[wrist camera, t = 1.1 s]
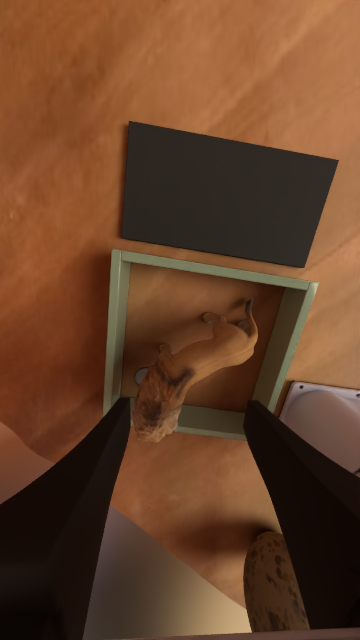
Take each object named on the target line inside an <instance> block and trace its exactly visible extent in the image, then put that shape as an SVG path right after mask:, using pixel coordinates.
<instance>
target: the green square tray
mask: <svg viewBox="0 0 360 640" xmlns="http://www.w3.org/2000/svg"><path fill="white" fill-rule="evenodd" d="M131 262H134V263H140V264H146V265H153V266H159V267H165V268H171V269H177V270H184V271H190V272H196V273H202V274H209V275H215V276H221V277H227V278H233V279H240V280H246V281H252V282H258V283H264V284H271V285H277V286H283V287H286V288H285V291H284V294H283V298H282V301H281V304H280V307H279V311H278V314H277V317H276V320H275V324H274V327H273V330H272V334H271V337H270V340H269V343H268V347H267V350H266V353H265V357H264V360H263V363H262V366H261V370H260V373H259V376H258V380H257V383H256V386H255V389H254V393H253V396H252V399H251V400H258V401H259V402H260V403H262V404H263V405H264V406H265V407H266V408H267V409H268V410H270V411H271V412H272V413H274V410H275V407H276V404H277V401H278V398H279V396H280V393H281V390H282V387H283V384H284V381H285V378H286V376H287V373H288V370H289V367H290V364H291V361H292V358H293V356H294V353H295V350H296V347H297V344H298V341H299V338H300V336H301V333H302V330H303V327H304V324H305V321H306V318H307V316H308V313H309V310H310V307H311V304H312V301H313V298H314V296H315V293H316V290H317V287H318V284H319V282H313V281H307V280H301V279H295V278H289V277H282V276H276V275H270V274H264V273H258V272H252V271H246V270H239V269H233V268H227V267H221V266H215V265H209V264H203V263H196V262H190V261H184V260H178V259H172V258H166V257H160V256H154V255H147V254H141V253H135V252H129V251H122V250H117V249H112V254H111V272H110V291H109V309H108V328H107V346H106V365H105V383H104V402H103V417H104V416H105V415H106V413H107V412H108V411H109V410H110V409H111V407H112V406H113V405H114V403H115V402H116V401H117V400H118V398H120V397H123V396H120V390H121V377H122V365H123V353H124V341H125V328H126V316H127V304H128V292H129V279H130V267H131ZM147 369H148V368H142V369H140V370H138V371H137V373H136V375H135V381H136V383H137V385H138V386H140V384H141V381H142V379H143V377H144V375H145V374H146V372H147ZM134 400H135V398H131V397H130V410H131V412H132V410H133V402H134ZM244 418H245V413H242V412H235V411H227V410H220V409H212V408H205V407H198V406H190V405H183V404H182V405H181V412H180V413H179V415H178V419H177V422H178V426H177V427H176V428H175V429H174V430H173V432H181V433H189V434H196V435H204V436H212V437H220V438H227V439H235V440H243V441H247V439H246V436H245V432H244V429H243V423H244ZM131 426H133V418H132V417H131Z"/></svg>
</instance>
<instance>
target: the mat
mask: <svg viewBox="0 0 360 640" xmlns="http://www.w3.org/2000/svg"><path fill="white" fill-rule="evenodd" d="M338 161H339V160H335V159H329V158H324V157H319V156H313V155H308V154H303V153H297V152H292V151H287V150H281V149H276V148H271V147H265V146H260V145H255V144H250V143H244V142H239V141H234V140H228V139H223V138H218V137H212V136H207V135H202V134H196V133H191V132H186V131H180V130H175V129H170V128H164V127H159V126H154V125H148V124H143V123H138V122H132V121H129V129H128V144H127V159H126V174H125V189H124V205H123V220H122V235H121V237H122V238H124V239H130V240H136V241H142V242H148V243H154V244H160V245H166V246H172V247H178V248H185V249H191V250H197V251H203V252H209V253H215V254H221V255H227V256H233V257H239V258H245V259H251V260H257V261H263V262H269V263H275V264H281V265H287V266H293V267H299V268H304V267H305V264H306V261H307V257H308V254H309V251H310V248H311V245H312V242H313V239H314V236H315V233H316V230H317V226H318V223H319V220H320V217H321V214H322V211H323V208H324V205H325V202H326V199H327V195H328V192H329V189H330V186H331V183H332V180H333V177H334V174H335V171H336V167H337V164H338Z"/></svg>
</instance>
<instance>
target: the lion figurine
mask: <svg viewBox="0 0 360 640" xmlns="http://www.w3.org/2000/svg"><path fill="white" fill-rule="evenodd" d="M252 304H253V298H251V299H250V300H248V301H247V303H246V309H245V312H246V316H247V320H248V321H241V322H240V323H238V327H237V326H234V325H232V324H230V323H227V322H226V318H225V317H224V316H219V315H216V314H214V313H205V314H204V315H203V320H204V321H205V323H212V322H214V321H215V325H214V327H213V331H214V337H213V338H212V339H209V340H204V341H199V342H195V343H193V344H191V345H188V346H186V347H185V348H183V349H182V350H181V351H179V352H178V353H177V354H175V355H173V354H171V350H172V348H171V347H170V346H169V345H167V344H161V345H160V347H159V351H160V353H161V354H160V355H159V359H158V362H156V363H155V364H154V365H153V366H151V367H150V368H148V369H147V372H146V374H145V375H144V377H143V379H142V381H141V384H140V386H139V388H138V391H137V396H136V398H135V400H134V402H133V410H132V412H131V417H132V418H133V426H134V427H135V430H136V432H137V440H139V441H140V440H143V441H144V442H147V441H150V442H155V443H157V442H159V441H160V440H161V439H162V438H163V437H164V436H167V435H170V434H172V432H173V430H174V429H175V428H176V427H177V426H178V422H177V419H178V415H179V413H180V412H181V405H182V403H183V401H184V398H185V394H186V392H187V391H188V390H189V388H190V386H191V385H193V384H194V383H196V382H198V381H200V380H202V379H204V378H205V377H207V376H209V375H210V374H211V373H213V372H214V371H216V370H218V369H220V368H223V367H228V366H234V365H239V364H242V363H244V362H245V361H246V360H247V359H248V358H250V357H251V355H252V354H253V352H254V348H253V347H254V345H255V344H256V342H257V338H258V329H257V326H256V324H255V321H254V319H253V317H252V314H251V307H252Z"/></svg>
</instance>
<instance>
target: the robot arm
mask: <svg viewBox="0 0 360 640" xmlns="http://www.w3.org/2000/svg"><path fill="white" fill-rule="evenodd" d="M299 386H301V387H299ZM130 426H131V410H130V397H120V398H118V400H117V401H116V402H115V403H114V405H113V406H112V407H111V409H110V410H109V411H108V412H107V413H106V415H105V416H104V417H103V418H102V419H101V420H100V422H99V423H98V424H97V425H96V426H95V427H94V428H93V429H92V430H91V431H90V432H89V433H88V435H87V436H86V437H85V438H84V439H83V440H82V441H81V442H80V443H79V444H78V445H77V446H75V447H74V448H73V449H72V450H71V451H70V452H69V453H68V454H67V455H66V456H64V457H63V458H62V459H61V460H60V461H59V462H57V463H56V464H55V465H54V466H53V467H51V468H50V469H49V470H48V471H47V472H45V473H44V474H43V475H41V476H40V477H39V478H37V479H36V480H35V481H33V482H32V483H31V484H29V485H28V486H27V487H25V488H24V489H23V490H21V491H20V492H18V493H17V494H15V495H14V496H12V497H11V498H9V499H8V500H7V501H5V502H3V503H2V504H0V640H82V639H83V634H84V628H85V623H86V618H87V612H88V607H89V602H90V597H91V591H92V586H93V581H94V576H95V572H96V566H97V562H98V557H99V552H100V547H101V542H102V537H103V533H104V528H105V523H106V519H107V514H108V510H109V505H110V501H111V496H112V493H113V489H114V485H115V482H116V479H117V476H118V472H119V469H120V466H121V462H122V459H123V456H124V452H125V449H126V446H127V442H128V437H129V432H130ZM243 429H244V432H245V436H246V439H247V442H248V445H249V447H250V450H251V452H252V454H253V457H254V459H255V461H256V464H257V466H258V468H259V471H260V473H261V475H262V478H263V480H264V482H265V485H266V487H267V490H268V492H269V495H270V497H271V500H272V503H273V506H274V509H275V512H276V515H277V518H278V521H279V524H280V527H281V530H282V533H283V537H284V540H285V543H286V546H287V549H288V553H289V556H290V559H291V563H292V566H293V570H294V573H295V576H296V580H297V583H298V587H299V591H300V594H301V598H302V601H303V605H304V609H305V612H306V616H307V620H308V624H309V627H310V630H296V631H275V632H254V633H234V634H215V635H214V634H213V635H193V636H172V637H152V638H131V639H110V640H360V390H354V389H347V388H340V387H333V386H326V385H319V384H312V383H305V382H298V381H295V382H293V383H292V384H291V387H290V389H289V392H288V395H287V398H286V400H285V403H284V406H283V409H282V411H281V414H280V417H279V418H277V417H276V416H275V415H274V414H273V413H272V412H271V411H270V410H268V409H267V408H266V407H265V406H264V405H263V404H262V403H260V402H259V401H258V400H248V403H247V408H246V413H245V418H244V423H243Z"/></svg>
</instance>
